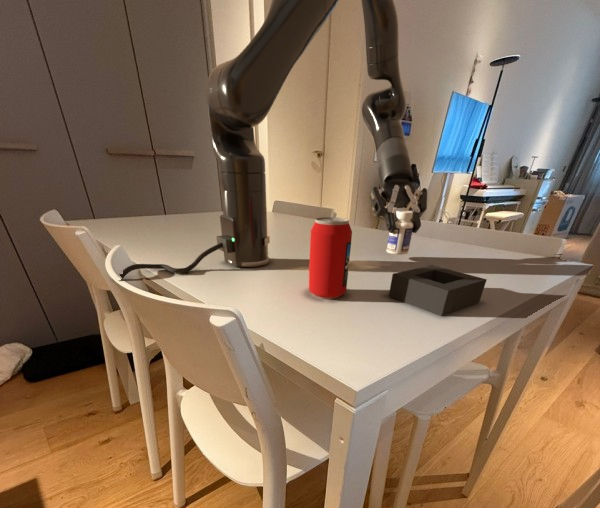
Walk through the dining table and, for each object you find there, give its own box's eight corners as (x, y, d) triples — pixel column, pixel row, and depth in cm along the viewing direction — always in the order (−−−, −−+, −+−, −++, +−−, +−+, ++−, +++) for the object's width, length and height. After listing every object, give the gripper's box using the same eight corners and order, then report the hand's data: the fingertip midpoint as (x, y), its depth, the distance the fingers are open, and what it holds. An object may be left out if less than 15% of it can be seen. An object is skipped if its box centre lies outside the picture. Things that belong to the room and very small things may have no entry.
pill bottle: (406, 250, 84) (414, 210, 79) (409, 255, 80) (418, 213, 75) (384, 249, 85) (391, 209, 79) (387, 254, 80) (394, 212, 75)
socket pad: (441, 316, 53) (448, 290, 51) (388, 296, 60) (392, 273, 58) (479, 302, 58) (487, 279, 56) (426, 286, 65) (431, 264, 63)
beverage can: (353, 296, 60) (362, 221, 53) (322, 303, 57) (327, 224, 50) (331, 286, 64) (336, 215, 57) (301, 291, 61) (303, 217, 54)
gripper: (370, 151, 76) (381, 219, 73) (429, 154, 78) (441, 219, 75) (360, 178, 83) (369, 241, 80) (413, 179, 85) (424, 240, 83)
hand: (404, 230), depth 78 cm, fingers closed on pill bottle, 5 cm apart
